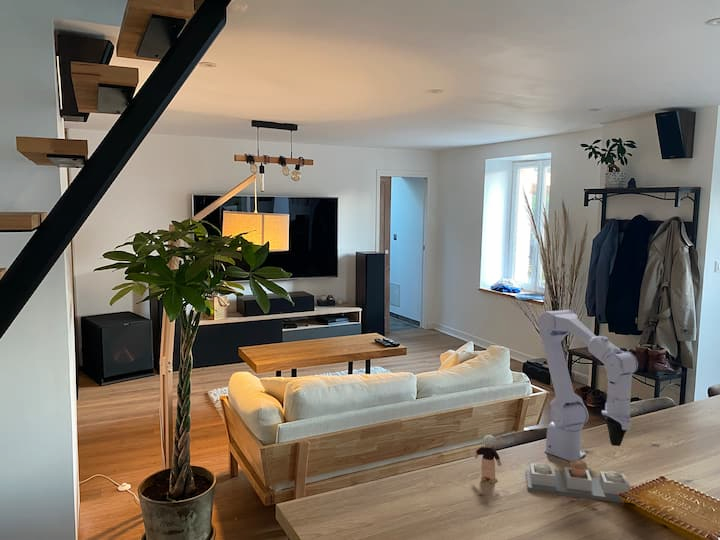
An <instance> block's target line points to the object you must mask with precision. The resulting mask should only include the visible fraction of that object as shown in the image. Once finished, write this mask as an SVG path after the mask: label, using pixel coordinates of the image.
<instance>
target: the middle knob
mask: <svg viewBox="0 0 720 540" xmlns="http://www.w3.org/2000/svg"><path fill="white" fill-rule="evenodd" d="M587 465H588V464H587V462H586V461H584V460H581V459H578V460H576V459H575V460H571V461H570V468H571V476H573V477H578V478H585V472H586V470H587V467H588V466H587Z"/></svg>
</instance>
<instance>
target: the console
mask: <svg viewBox="0 0 720 540" xmlns="http://www.w3.org/2000/svg"><path fill="white" fill-rule="evenodd" d="M536 464H537V463H533V462H532V463H530V464H529V465H530V466H529V469H525V478H526V486H527V487H526V488H527V491H528V492H534V493H542V494H543V493H544V494H550V495H558V496H567V497H574V498H583V499H589V500H591V499H592V500H598V501H604V502H605V501H607V502H614V503H621V504H623V503H622V502H623V501H622V499H621V498H620V497H619V494H620V493H624V492H627V491H629V489H630V487H631V486H630V484H629V483H630V482H629V481H628V479H627V477H626V475H625V473H620V472H619V473H620V474H622V475H623V480H622V483H620V482H612V481H607V476H606V473H607V472H608V471H601V470H600V471H599V477H592V476H591V474H590V470H589V469H586V472H585V478H578V477H573V476H571V467H568V466H564V472H563V473H559V472H555V467H554V465H549V464H548V465H549V466H550V467H551V470H550V474H545V473H536V469H535V465H536Z"/></svg>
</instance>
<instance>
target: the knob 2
mask: <svg viewBox="0 0 720 540" xmlns="http://www.w3.org/2000/svg"><path fill="white" fill-rule="evenodd" d="M606 472H607V473H606V476H607V481H612V482H620V483H622V480H623V475H622V474H623V473H621V474H620V472H618V471H613V470H610V471H606Z"/></svg>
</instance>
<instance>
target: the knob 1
mask: <svg viewBox="0 0 720 540" xmlns="http://www.w3.org/2000/svg"><path fill="white" fill-rule="evenodd" d="M535 464H536V465H535V469H536V473H545V474H550V470H551V467H550V466H549V464H547V463H543V462H539V463H535Z"/></svg>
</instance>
